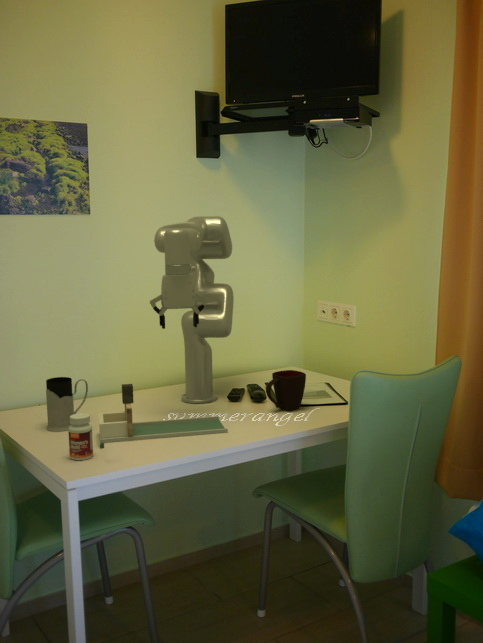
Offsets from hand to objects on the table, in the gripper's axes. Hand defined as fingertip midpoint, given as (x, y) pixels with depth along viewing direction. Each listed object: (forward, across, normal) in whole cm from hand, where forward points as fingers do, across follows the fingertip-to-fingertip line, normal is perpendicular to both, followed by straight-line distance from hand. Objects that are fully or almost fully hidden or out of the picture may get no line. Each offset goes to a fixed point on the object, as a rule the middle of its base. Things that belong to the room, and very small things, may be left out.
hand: (179, 327), depth 200 cm
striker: (+28, +17, +10) cm, 34 cm away
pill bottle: (+30, +30, +22) cm, 48 cm away
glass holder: (+31, +34, -8) cm, 46 cm away
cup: (+31, -35, -7) cm, 47 cm away
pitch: (+30, +7, +10) cm, 32 cm away
